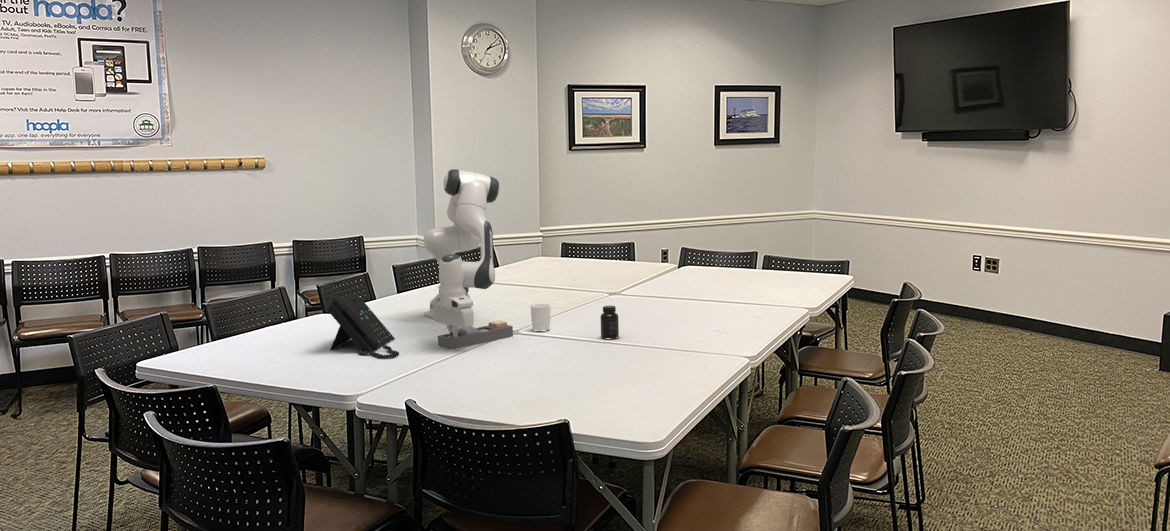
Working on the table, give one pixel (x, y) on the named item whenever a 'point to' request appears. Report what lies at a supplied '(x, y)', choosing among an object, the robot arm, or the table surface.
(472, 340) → the dark grey holder tray
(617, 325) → the supplement bottle
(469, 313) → the robot arm
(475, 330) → the key
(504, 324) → the key
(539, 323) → the white cup
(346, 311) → the office phone
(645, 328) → the table surface
